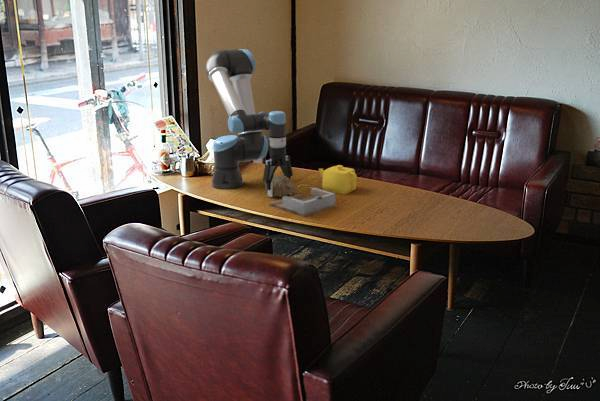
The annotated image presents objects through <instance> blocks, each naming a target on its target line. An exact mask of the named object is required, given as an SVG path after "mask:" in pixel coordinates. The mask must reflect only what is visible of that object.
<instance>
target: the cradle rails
mask: <svg viewBox="0 0 600 401" xmlns="http://www.w3.org/2000/svg"><path fill="white" fill-rule="evenodd" d="M310 197H311V200H307V201H301V200H298V199H295V198H291V197H290V196H289V195H288V196H283V197H282V199H283V208H286V209H289V210H292V211H295V212H298V213H301V214H307V213H310V212H313V211H316V210H319V209H322V208H325V207H328V206H331V205H334V204H335V205H336V193H332V192H328V191H324V190H323V189H320V188H317V187H312V188H310Z"/></svg>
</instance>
